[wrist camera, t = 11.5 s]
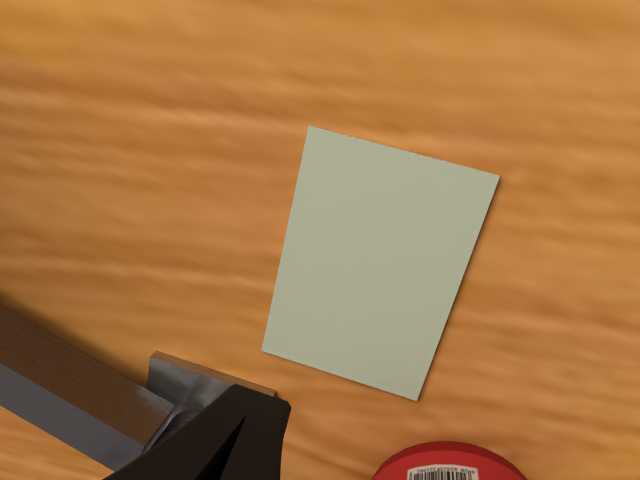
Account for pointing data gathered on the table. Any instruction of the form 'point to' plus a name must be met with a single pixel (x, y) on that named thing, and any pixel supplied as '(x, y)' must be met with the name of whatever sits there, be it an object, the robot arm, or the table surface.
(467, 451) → the canned food
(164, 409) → the grey copper-tipped rod
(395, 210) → the plate
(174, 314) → the table surface
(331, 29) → the table surface
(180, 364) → the pivot plate
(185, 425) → the robot arm
